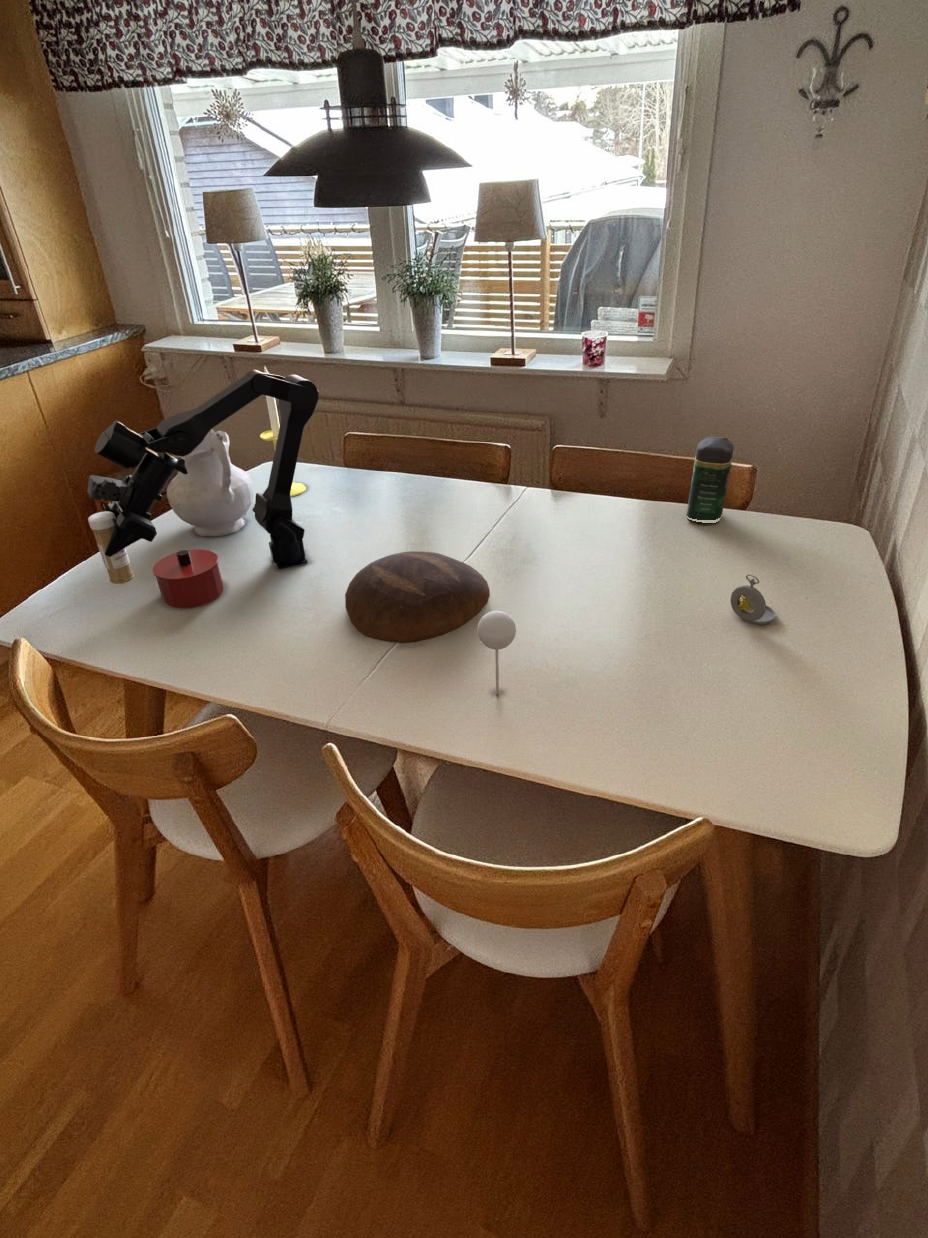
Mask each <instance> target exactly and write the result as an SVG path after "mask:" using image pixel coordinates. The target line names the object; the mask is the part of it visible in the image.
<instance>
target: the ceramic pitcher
mask: <svg viewBox="0 0 928 1238" xmlns="http://www.w3.org/2000/svg"><path fill="white" fill-rule="evenodd" d="M230 443H231V441H230V436H229V435H228V434H227V432H226V431H222V430H214V428H213V429H211V430H210V431H209V433H208V434H207V436H206V437H205V439H204V440H203V441H202V443H200V444H199V445H198V446H197V447H196V448H195V449H194V450H193V451H192V452H191V453H190V454H188V455H186V456H176V455H173V454H171V456H172V457H174V458H178V457H182V458H183V459H184V460H185V466H186V469H187V472H188V473H187V474H183V473H181V472H180V471H178V470H177V474H176V476H174V478H172V480H171V481H170V482H169V484H168V485H167V489H166V496H167V497H166V498H167V500H168V504H169V506H170V508H171V509H172V511H173V512H174V514H175V515H176V516H177V517H178V518H179V519H180V520H181V521H183V522H184V523H186V524H189V525H190V526H193V527H195V528H194V532H195V534H196V535H197V536H198V537H200V536H201V537H203V536H204V537H225V536H227V535H230V534H233V533H235V532H239V531H241V530H242V529H243V527H244V525H246V523H247V522H246V520H245V519H243V517H244V516H246V515H247V513H248V512H249V510H250V507H251V505H252V504H253V501H254V485H253V481H252V479H251V476H250V475H249V473H247V472H246V470H244V469H242V468H240V467H237V465H234V464H233V463H232V462H231V458H230V454H229V451H230V450H229V448H230Z"/></svg>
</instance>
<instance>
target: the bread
mask: <svg viewBox="0 0 928 1238" xmlns="http://www.w3.org/2000/svg"><path fill="white" fill-rule="evenodd" d="M490 596H491V591H490V587H489V583H488V581H487V580H486V578H485V577H484V575H482V573H480V572H479V571H478V570H477V569H475V568H474V567H473V566H472V565H470V564H467V563H465V562H464V561H461V560H459V559H455V558H453V557H451V556H448V555H445V554H441V553H439V552H433V551H418V550H417V551H416V550H415V551H413V550H411V551H401V552H398V553H397V552H396V553H393V554H389V555H385V556H383V557H381V558H378V559H376V560H374V561H372V562H370V563H369V564H367V565H366V566H364V567H363V568H361V569H359V571H358V572H357V573H356V574H355V575H354V577H352V579H351V581H350V582H349V583H348V586H347V588H346V591H345V594H344V599H345V601H344V603H345V604H344V605H345V610H346V613H347V616H348V618H349V621H350V623H351V624H352V626H353V627H354V628H355V630H356V631H357V632H358V633H359V634H361V635H362V636H364V637H366V638H369V639H372V640H375V641H380V642H387V643H392V644H393V643H394V644H415V643H420V642H424V641H427V640H431V639H436V638H438V637H442V636H445V635H447V634H449V633H452V632H454V631H456V630H458V629H459V628H461V627H463V626H464V625H466V624H468V623H469V622H470V621H472V620H473V619H474V618H475V617H477V616H478V615H479V614H480V613H481V612H482V611H483V609H484V608H485V607H486V606H487V605H488V603H489V600H490Z"/></svg>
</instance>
